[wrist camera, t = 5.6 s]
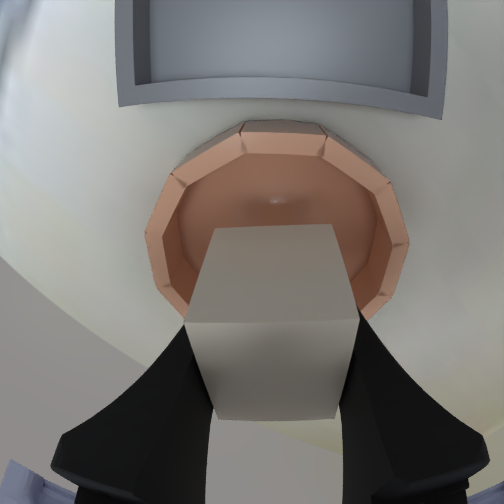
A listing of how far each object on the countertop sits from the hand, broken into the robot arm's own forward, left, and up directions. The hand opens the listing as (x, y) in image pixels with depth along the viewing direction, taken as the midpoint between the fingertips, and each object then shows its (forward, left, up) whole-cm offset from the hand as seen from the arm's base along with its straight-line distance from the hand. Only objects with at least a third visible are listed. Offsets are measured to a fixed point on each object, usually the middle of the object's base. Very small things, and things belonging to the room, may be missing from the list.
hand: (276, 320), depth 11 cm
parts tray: (0, -13, -6) cm, 14 cm away
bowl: (0, 0, -6) cm, 6 cm away
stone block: (0, -1, -2) cm, 2 cm away
